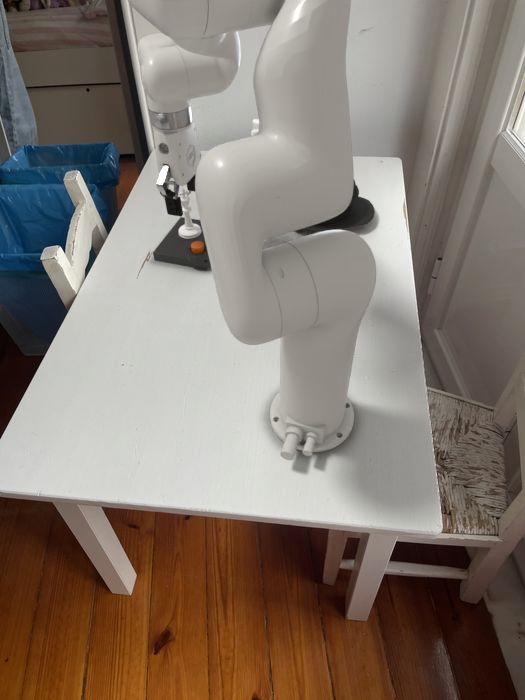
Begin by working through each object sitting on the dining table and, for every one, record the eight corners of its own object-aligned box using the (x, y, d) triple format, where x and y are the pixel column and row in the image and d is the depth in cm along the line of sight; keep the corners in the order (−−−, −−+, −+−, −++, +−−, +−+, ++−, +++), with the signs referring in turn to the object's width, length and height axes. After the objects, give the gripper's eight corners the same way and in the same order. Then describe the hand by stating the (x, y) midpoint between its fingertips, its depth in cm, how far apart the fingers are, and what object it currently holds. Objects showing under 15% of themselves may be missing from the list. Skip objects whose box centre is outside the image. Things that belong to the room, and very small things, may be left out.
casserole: (256, 232, 107) (255, 198, 101) (273, 190, 120) (272, 157, 113) (370, 244, 103) (376, 209, 97) (375, 199, 116) (381, 165, 109)
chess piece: (176, 228, 106) (168, 185, 98) (198, 224, 107) (192, 181, 99) (181, 240, 102) (173, 197, 95) (203, 236, 103) (197, 193, 96)
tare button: (201, 254, 97) (200, 249, 96) (189, 252, 98) (188, 247, 97) (206, 247, 99) (205, 242, 98) (194, 245, 99) (193, 240, 98)
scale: (207, 272, 98) (205, 258, 96) (152, 263, 101) (149, 249, 98) (232, 233, 108) (231, 219, 105) (182, 225, 110) (179, 211, 108)
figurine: (277, 172, 126) (276, 112, 115) (271, 190, 120) (270, 129, 109) (249, 171, 127) (246, 111, 116) (243, 189, 121) (239, 128, 110)
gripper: (169, 138, 80) (185, 227, 93) (209, 100, 92) (218, 184, 104) (129, 133, 82) (149, 222, 95) (173, 97, 93) (186, 180, 106)
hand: (185, 202), depth 99 cm, fingers open, 9 cm apart
